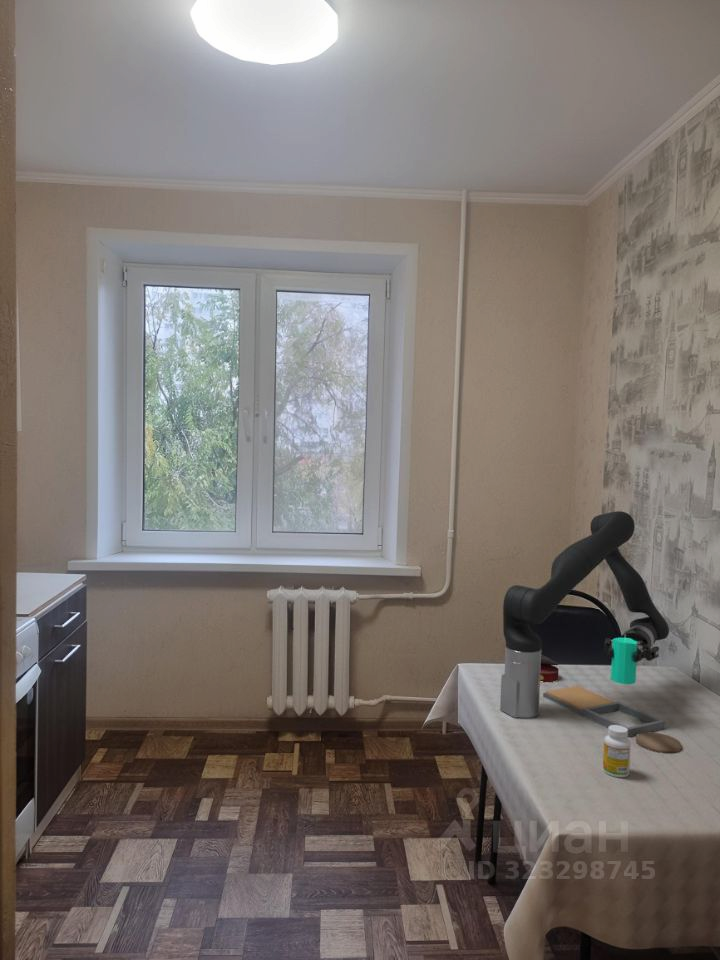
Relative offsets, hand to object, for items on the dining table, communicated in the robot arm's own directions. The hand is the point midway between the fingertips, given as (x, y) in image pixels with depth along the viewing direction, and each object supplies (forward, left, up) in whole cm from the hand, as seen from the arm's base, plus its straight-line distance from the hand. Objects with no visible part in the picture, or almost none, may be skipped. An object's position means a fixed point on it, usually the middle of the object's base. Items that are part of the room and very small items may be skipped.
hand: (623, 655), depth 179 cm
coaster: (-1, -12, -18) cm, 22 cm away
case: (+2, +9, -18) cm, 20 cm away
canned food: (+7, +37, -18) cm, 42 cm away
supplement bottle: (-22, -19, -18) cm, 34 cm away
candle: (+2, +1, -7) cm, 8 cm away
